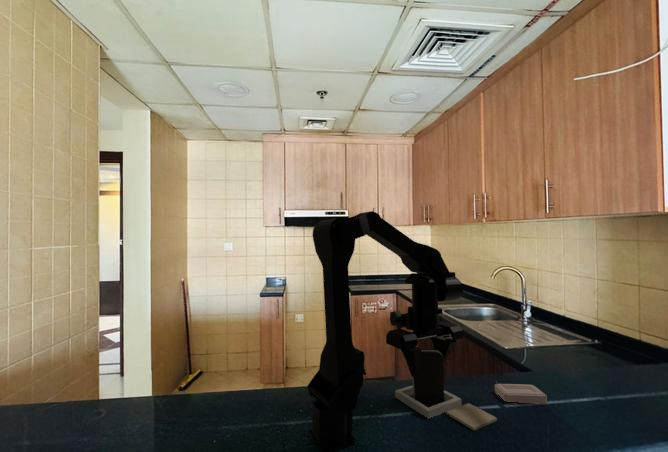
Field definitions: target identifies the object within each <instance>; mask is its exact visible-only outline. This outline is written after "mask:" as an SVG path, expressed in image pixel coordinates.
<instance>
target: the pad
mask: <svg viewBox="0 0 668 452" xmlns="http://www.w3.org/2000/svg"><path fill="white" fill-rule="evenodd" d="M445 413H446V415H447V416H448V415H449V416H448V417H449V418H450V417H451V418H452V419H453V420H455V421H457V422H459V423H460V424H462V425H463V426H465V427H467V428H469V430H472V431H477V430H479V429H482V428H484V427H486V426H488V425H491V424H492V423H495V422H497V421H498V418H497V417H496V416H494V415H492V414H490V413H489V412H486V411H484V410H482V409H480V408H478V407H477V406H475V405H473V404H471V403H469V402H468V403H465V404H462V406H460V407H458V408H455V409H452V410H450V411H447V412H445Z"/></svg>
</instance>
